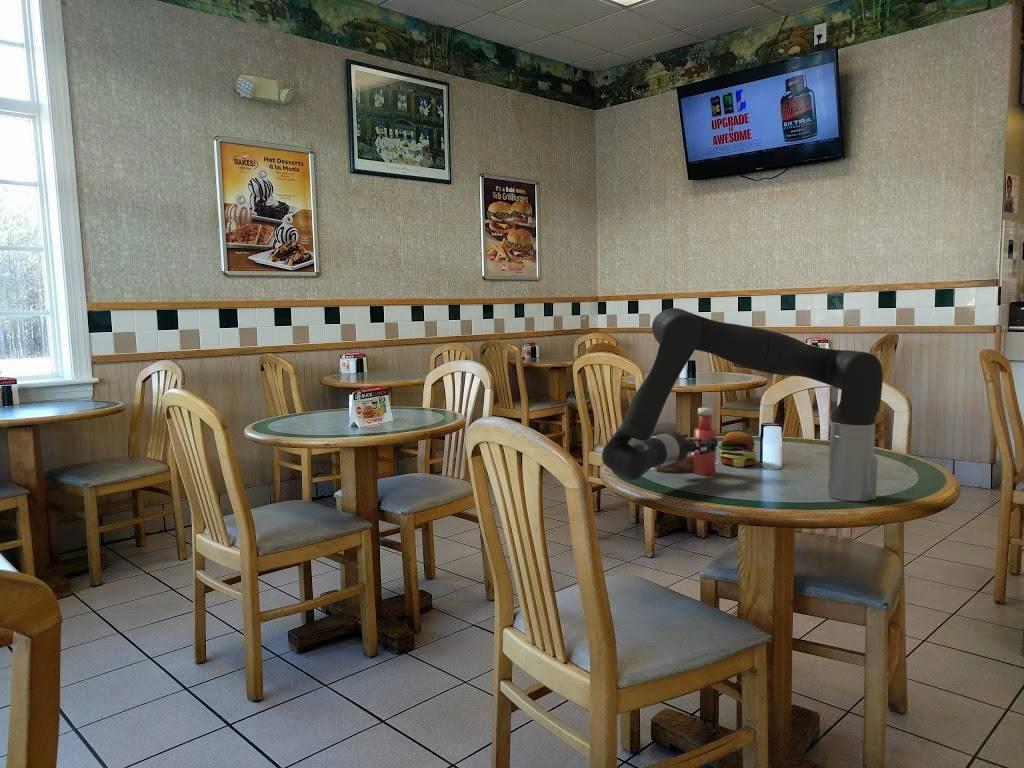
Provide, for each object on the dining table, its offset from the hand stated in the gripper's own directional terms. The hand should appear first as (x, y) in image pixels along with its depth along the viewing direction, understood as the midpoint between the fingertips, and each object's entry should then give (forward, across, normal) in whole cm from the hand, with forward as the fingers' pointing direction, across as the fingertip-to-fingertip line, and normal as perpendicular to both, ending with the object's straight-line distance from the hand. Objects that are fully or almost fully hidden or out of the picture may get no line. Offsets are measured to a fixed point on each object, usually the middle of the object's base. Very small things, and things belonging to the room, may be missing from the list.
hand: (701, 440), depth 195 cm
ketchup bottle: (+2, 0, +9) cm, 9 cm away
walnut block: (+2, +10, +9) cm, 14 cm away
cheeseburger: (+19, 0, +9) cm, 21 cm away
